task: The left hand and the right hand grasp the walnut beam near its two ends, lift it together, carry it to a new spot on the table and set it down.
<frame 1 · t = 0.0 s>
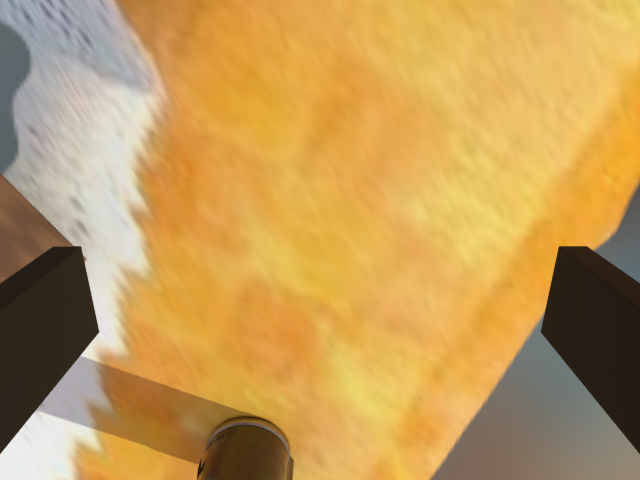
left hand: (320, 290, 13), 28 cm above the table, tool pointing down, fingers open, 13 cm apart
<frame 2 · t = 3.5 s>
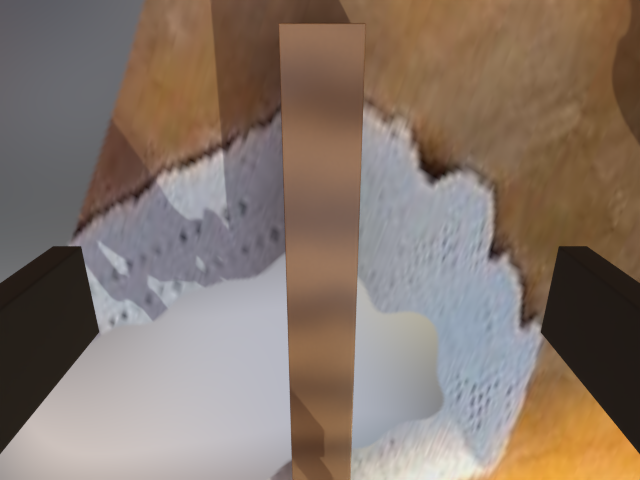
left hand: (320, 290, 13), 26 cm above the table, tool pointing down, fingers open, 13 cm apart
beam: (321, 326, 43), on the table
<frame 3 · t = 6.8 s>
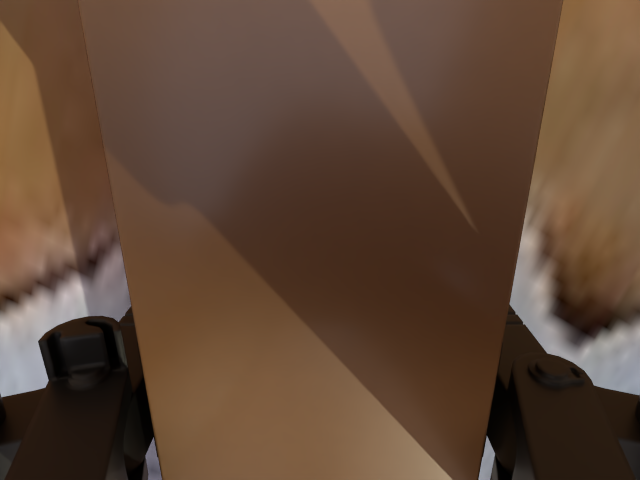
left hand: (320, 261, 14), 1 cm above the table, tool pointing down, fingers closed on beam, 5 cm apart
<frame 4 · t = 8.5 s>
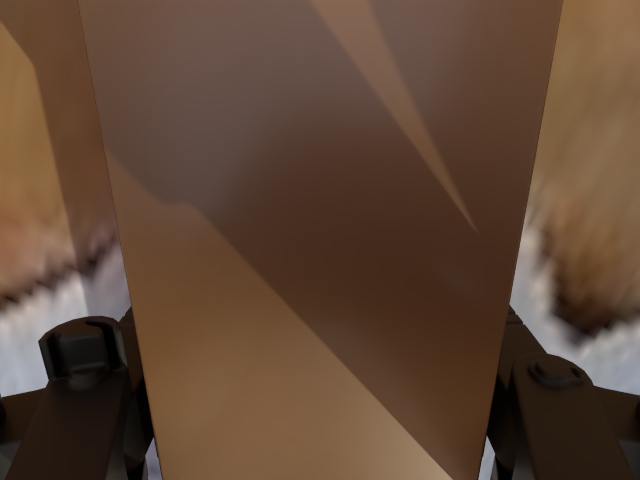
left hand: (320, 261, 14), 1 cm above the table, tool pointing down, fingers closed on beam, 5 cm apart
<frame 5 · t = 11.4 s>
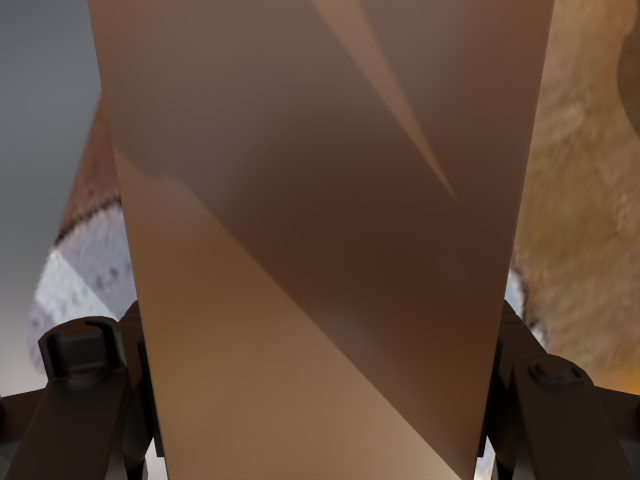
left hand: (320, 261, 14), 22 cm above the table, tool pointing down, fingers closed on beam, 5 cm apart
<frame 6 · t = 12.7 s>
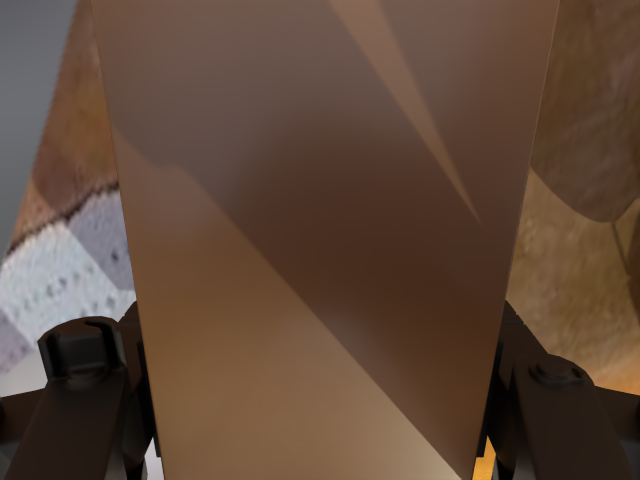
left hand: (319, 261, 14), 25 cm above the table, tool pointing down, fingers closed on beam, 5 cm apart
when the left hand's fingers open (2 cm above the table, at t = 16.5 s): beam drops 1 cm, on the table.
when the right hand's fingers open (5 cm above the table, at t = 16.7 s): beam stays where it is, on the table.
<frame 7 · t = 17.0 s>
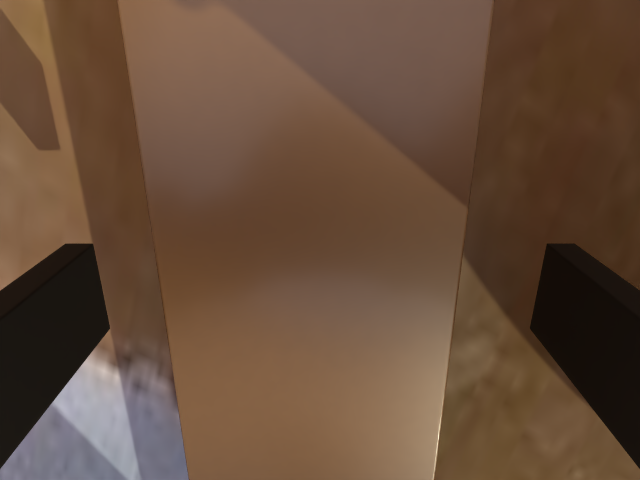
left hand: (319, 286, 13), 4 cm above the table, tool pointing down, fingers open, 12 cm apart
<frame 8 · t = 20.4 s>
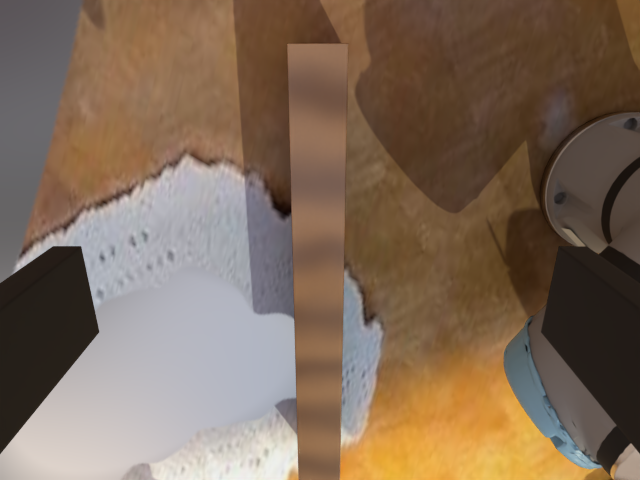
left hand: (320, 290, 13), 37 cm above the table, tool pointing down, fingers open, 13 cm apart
beam: (318, 278, 54), on the table
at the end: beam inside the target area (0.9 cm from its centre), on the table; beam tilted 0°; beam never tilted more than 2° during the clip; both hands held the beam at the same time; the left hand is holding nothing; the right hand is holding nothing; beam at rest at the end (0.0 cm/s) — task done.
